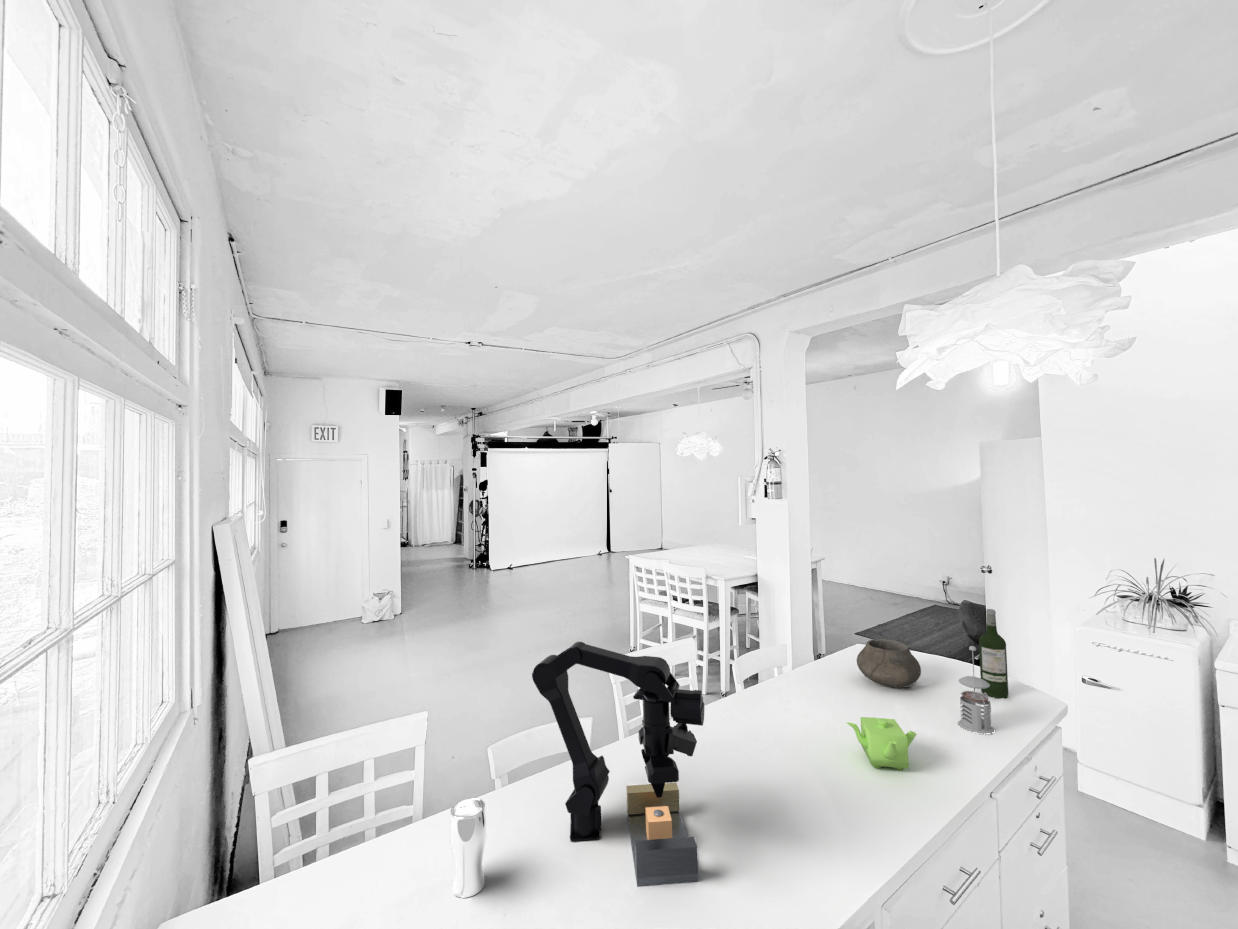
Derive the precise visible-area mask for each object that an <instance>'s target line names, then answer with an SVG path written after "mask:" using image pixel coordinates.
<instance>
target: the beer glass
mask: <svg viewBox="0 0 1238 929" xmlns="http://www.w3.org/2000/svg"><path fill="white" fill-rule="evenodd" d="M449 817H450V818H449V843H450V844H449V845H450V850H451V857H452V860H453V868H454V877H453V882H452V893H453V894H454V896H456V897H458V898H462V899H466V898H471V897H473V896H476V895H477V894H478V893H480V892H481V891H482V890H483V888H484V886H485V882H486V881H485V879H486V878H485V875H484V870H483V869H484V866H483V861H484V852H485V847H486V841H487V840H486V839H487V838H486V837H487V814H486V803H485V801H484V800H483V799H481V798H479V797H467V798H463V799H460V800H459V801H457V802H456V803H455V804H453V805H452V806H451V809H450V815H449Z"/></svg>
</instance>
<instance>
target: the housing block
mask: <svg viewBox="0 0 1238 929" xmlns="http://www.w3.org/2000/svg"><path fill="white" fill-rule="evenodd" d="M646 833H647V839H648V840H653V839H667V838H672V820H671V816H670V812H669V808H668V806H661V807H646Z"/></svg>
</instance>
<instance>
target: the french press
mask: <svg viewBox="0 0 1238 929" xmlns="http://www.w3.org/2000/svg"><path fill="white" fill-rule="evenodd" d="M968 650H969V651H972V652H971V654H972V672H973V676H972V675H966V676H963V677H960V678H959V679H958V682H959V683H960V684H961V685H963V686H965V687H968V688H971V689H972V688H973V690H965V691H962V692H961V693H960V695H961V696H960V697H959V702H960V703H959V705H961V706H960V713H961V714H960V717H961V718H960V720H959V721H958V722H957V725H958V727H959V726H960V728H961V729H962V728H963V729H962V730H964V729H965V730H964V731H966V730H967V732H969V731H971V732H970V733H972V732H977V733H983V734H984V733H985V734H986V733H992V732H994V729H995V728H994V727H993V726H992V715H991V713H992V703H991V700H990V697H989V696H988V695H987V694H986V693H984V694H983V693H982V692H977V691H976V689H977V690H979V689H980V690H981V689H986V688H988V687H989V686H990V684H989V683H988V682H986V681H985V680H983V679H981V677H977V676H975V665H974V664H975V663H974V662H975V660H974V651H975V652H976V651H977V647H976V646H974V645H970V646H969V647H968ZM985 694H986V695H987V696H986V695H985ZM977 704H978V705H977ZM981 705H982V706H981ZM983 734H982V735H983Z"/></svg>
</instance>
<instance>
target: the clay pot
mask: <svg viewBox="0 0 1238 929" xmlns="http://www.w3.org/2000/svg"><path fill="white" fill-rule="evenodd" d="M856 665H857V668H858V669H859V671H860V672H861V673H862V674H863V675H864V677H865V678H867V679H868V680H870V681H871V682H873V683H876V684H878V685H881V686H884V687H887V688H888V687H890V688H904V687H909V686H912V685H913V684H915V683H917V681H918V680H919V679H920V677H921V674H922V666H921V665H920V662H919V661H918V659H917V658H916V657H915V656H914V655H913V654H912V652H911V650H910V648H909V646H908V645H907V644H905V643H903V642H899V641H897V640H893V639H886V638H877V639H876V638H875V639H874V638H873V639H869V640H868V641H867V642H866V643H865V645H864V647H863V648H862V649H861V650H860V652H858V654H857V657H856Z"/></svg>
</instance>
